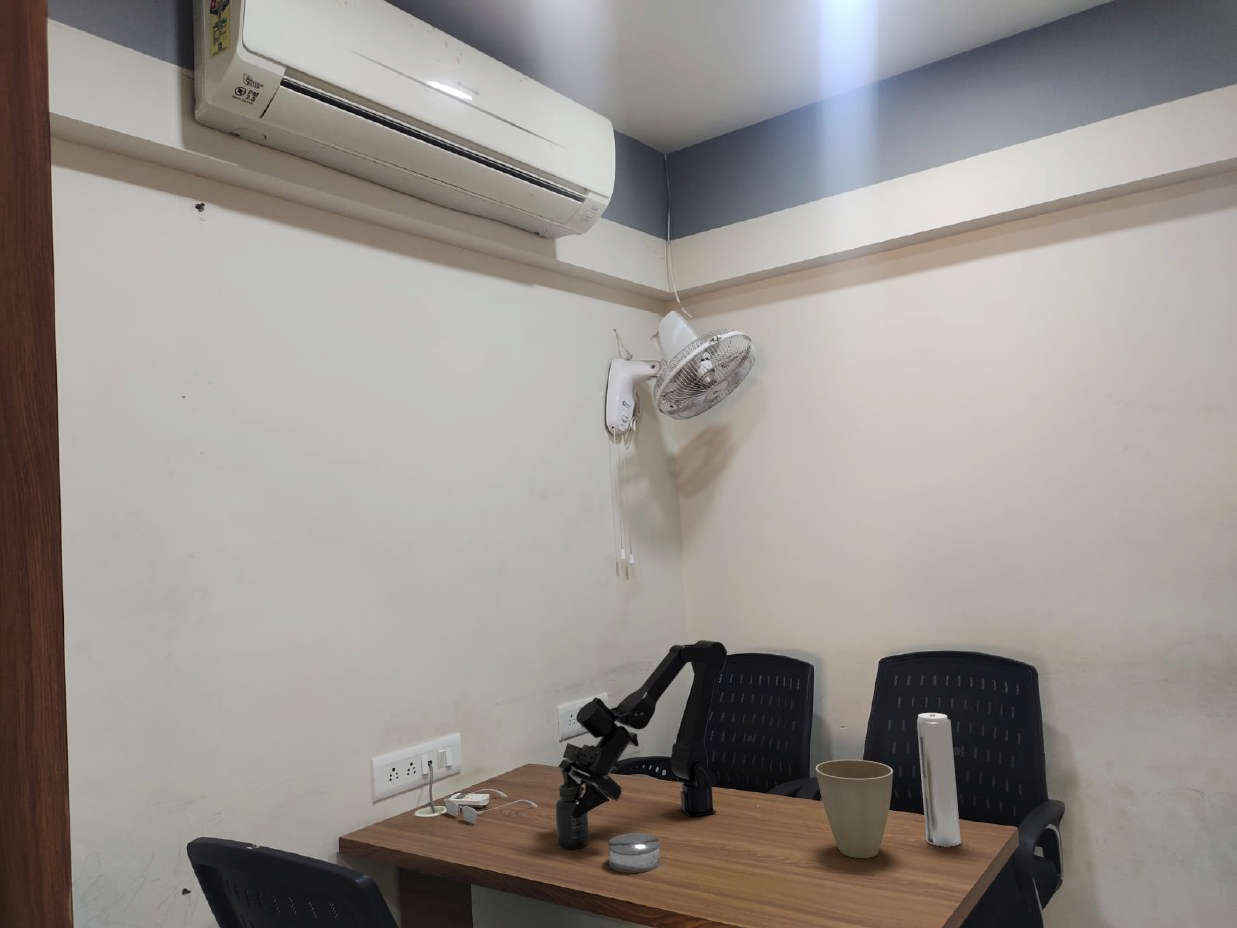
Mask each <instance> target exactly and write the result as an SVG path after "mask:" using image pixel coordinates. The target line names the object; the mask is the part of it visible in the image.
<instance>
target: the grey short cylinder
mask: <svg viewBox="0 0 1237 928" xmlns="http://www.w3.org/2000/svg"><path fill="white" fill-rule="evenodd" d="M607 844H608V862H609V867H610V868H611V869H612V870H614V871H617V872H621V873H628V874H632V873H633V874H635V873H643V872H644V873H645V872H648V871H651V870H654V869H656V868H658V867H659V865H660V864H661V856H660V855H661V854H660V852H661V851H660V840H659V838H658V837H657V836H656V835H652V834H649V833H644V832H643V833H642V832H632V833H631V832H629V833H623V834H619V835H617V836H614V837H612V838H611V839H609V841H608V843H607Z"/></svg>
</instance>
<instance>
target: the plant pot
mask: <svg viewBox="0 0 1237 928" xmlns="http://www.w3.org/2000/svg"><path fill="white" fill-rule="evenodd" d="M815 771H816V772H815V773H816V777H817V781H818V787H819V793H820V796H821V799H822V803H823V807H824V810H825V814H826V817H827V820H828V824H829V827H830V829H831V832H832V835H833V838H834V840H835V843H836V845H837V847H838V849H839V851H840V853H841V854H843V856H844V855H845V856H847V857H850V858H856V859H868V858H872V857H873V858H874V857H875V856H877V855H878V854H879V851H880V849H881V845H882V842H883V839H884V835H885V831H886V827H887V822H888V817H889V813H890V806H891V799H892V788H893V776H894V775H893V774H894V769H892V768H891V767H890V766H889V765H887V764H884V763H880V762H876V761H870V760H863V759H862V760H861V759H836V760H830V761H825V762H821V763H818V764H817V765H816V766H815Z"/></svg>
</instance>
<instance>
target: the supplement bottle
mask: <svg viewBox="0 0 1237 928" xmlns="http://www.w3.org/2000/svg"><path fill="white" fill-rule="evenodd" d="M582 787H583V785H582V786H581V784H578V783H569V784H564V783H563V784H562V785H559V788H558V790H559V791H558V792H559V793H558V795H559V798H560V797H561V798H560V799H559V798H558V799H557V801H556V802H555V822H556V823H555V824H556V826H555V827H556V829H555V830H556V840H557V841H556V843H557V847H559V848H560V849H564V850H578V849H582V848H584V847H586V846H588V844H589V843H590V831H589V830H590V828H589V812H587V813H585V814H584V815H582V816H580V817H579V818H577V819H575V818H574V817H573V816H572V815H573V813H574V811H575V809H576V807H577V805H578V803H579V802H580V800H581V798H582V796H583V791H582Z"/></svg>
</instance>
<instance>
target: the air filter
mask: <svg viewBox="0 0 1237 928" xmlns="http://www.w3.org/2000/svg"><path fill="white" fill-rule="evenodd" d="M917 717H918V718H917V719H916V724H917V725H916V726H917V734H918V735H917V738H918V749H919V750H918V752H919V764H920V765H919V766H920V776H921V789H922V799H923V812H924V813H923V814H924V815H923V816H924V824H925V825H924V826H925V838H926V842H927V843H928V844H930V845H932V846H935V845H936V847H939V846H942V847H941V848H951V847H950V846H955V845H958V846H960V845H961V843H962V842H961V832H960V831H961V830H960V819H959V807H958V806H959V805H958V795H957V794H958V793H957V782H956V772H955V771H956V770H955V759H954V757H955V756H954V746H953V735H952V724H951V719H949V718H948V715H946V714H943V713H938V712H926V713H925V712H922V713H919V714H918V715H917ZM959 844H960V845H959ZM943 846H944V847H943ZM955 847H956V846H955Z"/></svg>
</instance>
